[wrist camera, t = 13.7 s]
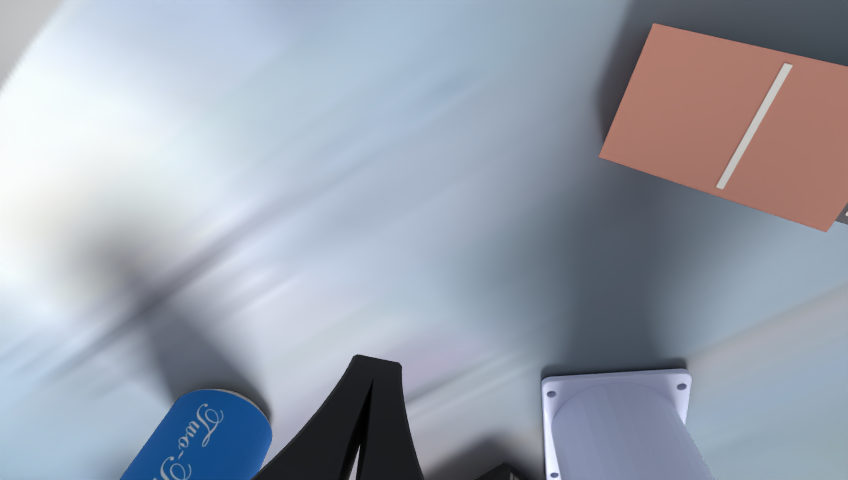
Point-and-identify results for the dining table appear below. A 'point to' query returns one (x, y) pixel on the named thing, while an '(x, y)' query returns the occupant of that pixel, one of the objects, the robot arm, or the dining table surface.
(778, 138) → the salmon end domino
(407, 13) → the dining table surface
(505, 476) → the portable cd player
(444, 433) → the dining table surface
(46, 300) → the dining table surface
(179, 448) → the beverage can
